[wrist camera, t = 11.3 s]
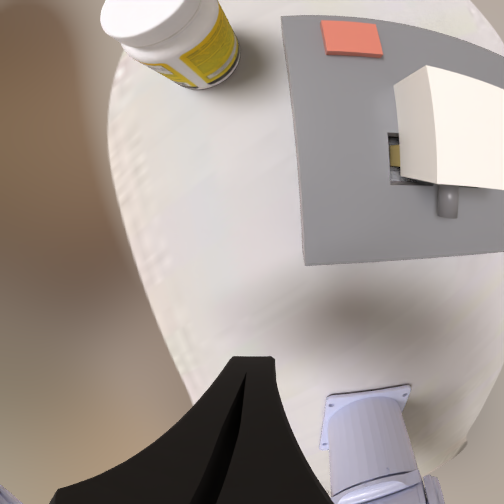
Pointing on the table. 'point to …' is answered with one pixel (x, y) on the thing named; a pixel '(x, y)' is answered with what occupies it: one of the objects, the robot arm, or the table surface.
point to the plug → (449, 133)
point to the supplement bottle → (175, 38)
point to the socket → (375, 143)
